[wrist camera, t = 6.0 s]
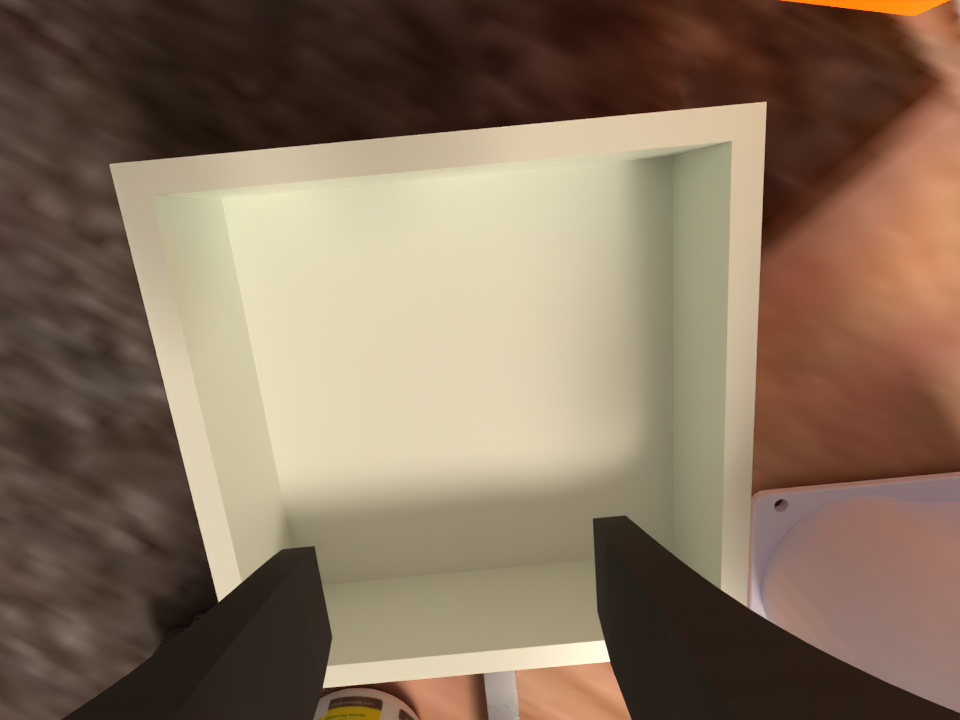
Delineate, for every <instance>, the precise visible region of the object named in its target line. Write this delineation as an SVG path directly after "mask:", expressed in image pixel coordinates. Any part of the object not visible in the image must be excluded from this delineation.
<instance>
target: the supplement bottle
mask: <svg viewBox="0 0 960 720" xmlns="http://www.w3.org/2000/svg"><path fill="white" fill-rule="evenodd" d="M313 720H419V719H418V717H417V716H416V714H415V713H414V712H413V711H412V709H411V708H410V707H409V706H407V705H406V704H405V703H404V702H403V701H401V700H400V699H398V698H396V697H395V696H393V695H390V694H388V693H386V692H383V691H379V690H375V689H370V688H349V689H343V690H339V691H335V692H333V693H330V694H328V695H326V696H324V697H322V698H321V699H320V700H319V703H318V706H317V709H316V712H315V716H314V719H313Z"/></svg>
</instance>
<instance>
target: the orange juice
mask: <svg viewBox="0 0 960 720" xmlns="http://www.w3.org/2000/svg"><path fill="white" fill-rule="evenodd" d="M783 1H792V2H800V3H808V4H817V5H825V6H834V7H842V8H850V9H859V10H867V11H875V12H884V13H892V14H901V15H909V16H915V15H917V14H919V13H922V12H924V11H926V10H928V9H931V8H933V7H935V6H938V5H940V4H942V3H945V2H947V1H949V0H783Z"/></svg>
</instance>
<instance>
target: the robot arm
mask: <svg viewBox="0 0 960 720" xmlns="http://www.w3.org/2000/svg"><path fill="white" fill-rule="evenodd" d="M780 499H783V500H782V503H781V504H780V505H779V506H776V507H774V505H775V503H776V502H777V501H778V500H780ZM593 535H594V555H595V575H596V595H597V612H598V616H599V620H600V624H601V628H602V632H603V636H604V640H605V644H606V648H607V651H608V655H609V659H610V663H611V666H612V668H613V671H614V674H615V676H616V679H617V682H618V684H619V687H620V690H621V692H622V695H623V698H624V700H625V703H626V706H627V708H628V711H629V713H630V716H631V719H632V720H960V472H951V473H941V474H930V475H919V476H909V477H898V478H887V479H877V480H866V481H855V482H844V483H834V484H823V485H812V486H802V487H791V488H780V489H770V490H762V491H758V492H757V493H755V494H754V495H753V496H752V498H751V516H750V541H749V567H748V593H747V607H746V606H745V605H743V604H742V603H740V602H739V601H737V600H736V599H734V598H733V597H731V596H730V595H728V594H727V593H725V592H724V591H722V590H721V589H719V588H718V587H716V586H715V585H713V584H712V583H711V582H709V581H708V580H706V579H705V578H704V577H702V576H701V575H700V574H698V573H697V572H696V571H694V570H693V569H691V568H690V567H689V566H688V565H686V564H685V563H684V562H682V561H681V560H680V559H678V558H677V557H676V556H675V555H673V554H672V553H671V552H670V551H668V550H667V549H666V548H665V547H663V546H662V545H661V544H660V543H658V542H657V541H656V540H655V539H653V538H652V537H651V536H650V535H649V534H647V533H646V532H645V531H644V530H643V529H641V528H640V527H639V526H638V525H637V524H635V523H634V522H633V521H632V520H630V519H629V518H628V517H627V516H625V515H623V516H613V517H603V518H593ZM331 643H332V632H331V627H330V622H329V617H328V612H327V607H326V602H325V597H324V592H323V587H322V582H321V577H320V572H319V567H318V562H317V557H316V551H315V546H309V547H299V548H289V549H282V550H280V551H279V552H278V553H276V554H275V555H274V556H272V557H271V558H270V559H269V560H268V561H266V562H265V563H264V564H263V565H262V566H260V567H259V568H258V569H257V570H256V571H254V572H253V573H252V574H251V575H250V576H249V577H248V578H246V579H245V580H244V581H243V582H242V583H241V584H239V585H238V586H237V587H236V588H235V589H234V590H232V591H231V592H230V593H229V594H228V595H227V596H225V597H224V598H223V599H222V600H221V601H220V602H218V603H217V604H216V605H215V606H214V607H212V608H211V609H210V610H209V611H208V612H207V613H205V614H204V615H203V616H202V617H201V618H200V619H198V620H197V621H196V622H195V623H193V624H192V625H191V626H190V627H188V628H187V629H186V630H184V631H183V632H182V633H181V634H179V635H178V636H177V637H176V638H174V639H173V640H172V641H171V642H169V643H168V644H167V645H165V646H164V647H163V648H162V649H160V650H159V651H158V652H157V653H155V654H154V655H153V656H152V657H150V658H149V659H148V660H147V661H145V662H144V663H143V664H141V665H140V666H139V667H137V668H136V669H134V670H133V671H132V672H130V673H129V674H128V675H126V676H125V677H123V678H122V679H121V680H119V681H118V682H116V683H115V684H114V685H112V686H111V687H109V688H108V689H106V690H105V691H103V692H102V693H101V694H99V695H98V696H96V697H95V698H93V699H92V700H90V701H89V702H87V703H86V704H84V705H83V706H81V707H80V708H78V709H77V710H75V711H74V712H72V713H71V714H69V715H68V716H66V717H65V718H63V719H62V720H313V719H314V716H315V712H316V709H317V706H318V703H319V700H320V696H321V693H322V689H323V684H324V679H325V674H326V670H327V664H328V659H329V654H330V648H331Z"/></svg>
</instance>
